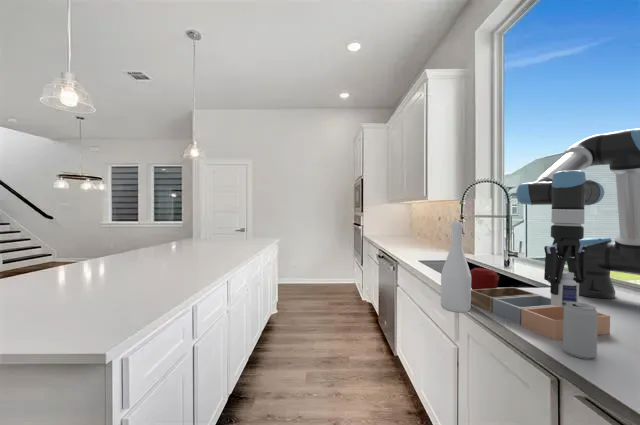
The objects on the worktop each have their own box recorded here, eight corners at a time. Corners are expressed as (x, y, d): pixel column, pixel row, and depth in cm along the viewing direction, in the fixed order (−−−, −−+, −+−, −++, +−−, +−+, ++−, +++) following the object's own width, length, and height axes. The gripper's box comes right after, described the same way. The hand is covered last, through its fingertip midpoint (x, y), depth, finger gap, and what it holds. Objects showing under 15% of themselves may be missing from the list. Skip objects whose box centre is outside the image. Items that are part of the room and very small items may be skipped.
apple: (504, 299, 123) (505, 268, 122) (479, 300, 121) (480, 269, 121) (485, 291, 133) (486, 263, 133) (462, 292, 132) (462, 264, 132)
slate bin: (539, 309, 111) (539, 294, 111) (570, 319, 100) (570, 304, 100) (492, 313, 106) (492, 298, 106) (519, 325, 96) (520, 308, 95)
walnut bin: (512, 300, 121) (513, 287, 121) (538, 308, 111) (538, 294, 111) (469, 303, 116) (469, 289, 116) (491, 312, 106) (491, 298, 106)
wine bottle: (472, 315, 104) (474, 223, 103) (441, 311, 107) (443, 222, 106) (468, 306, 113) (470, 221, 112) (440, 303, 116) (441, 221, 115)
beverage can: (555, 348, 80) (557, 300, 80) (579, 347, 80) (581, 300, 80) (578, 360, 73) (580, 309, 73) (604, 360, 74) (605, 308, 74)
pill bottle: (580, 309, 89) (581, 274, 89) (559, 308, 90) (559, 273, 90) (569, 303, 94) (570, 270, 94) (549, 302, 96) (550, 269, 95)
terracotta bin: (571, 320, 100) (571, 304, 100) (609, 333, 90) (610, 315, 90) (521, 325, 95) (521, 308, 95) (555, 340, 85) (555, 321, 85)
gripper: (578, 224, 98) (575, 299, 98) (529, 224, 93) (527, 303, 94) (605, 225, 91) (602, 306, 91) (554, 225, 86) (552, 311, 86)
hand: (564, 304), depth 92 cm, fingers closed on pill bottle, 5 cm apart
